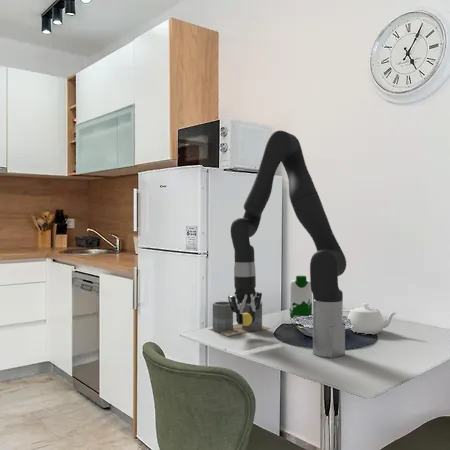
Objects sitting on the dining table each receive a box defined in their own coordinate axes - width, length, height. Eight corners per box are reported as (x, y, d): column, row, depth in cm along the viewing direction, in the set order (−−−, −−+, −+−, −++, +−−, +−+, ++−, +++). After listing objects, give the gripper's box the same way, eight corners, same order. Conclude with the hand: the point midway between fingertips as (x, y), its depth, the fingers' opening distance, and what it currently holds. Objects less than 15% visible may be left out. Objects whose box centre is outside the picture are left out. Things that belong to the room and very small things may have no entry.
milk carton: (289, 328, 184) (290, 276, 184) (289, 322, 193) (289, 273, 193) (312, 328, 183) (313, 277, 183) (310, 323, 192) (311, 274, 192)
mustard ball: (255, 325, 166) (254, 312, 166) (244, 327, 163) (244, 314, 163) (246, 323, 170) (246, 310, 170) (236, 325, 167) (236, 312, 167)
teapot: (333, 332, 178) (333, 303, 178) (343, 325, 190) (343, 298, 189) (393, 340, 167) (394, 309, 166) (401, 332, 178) (401, 303, 178)
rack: (271, 331, 179) (271, 302, 178) (228, 340, 167) (228, 308, 167) (249, 325, 189) (249, 297, 189) (208, 332, 177) (208, 302, 177)
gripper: (235, 277, 159) (236, 327, 159) (267, 273, 168) (268, 321, 168) (222, 275, 165) (223, 324, 165) (253, 272, 174) (254, 318, 174)
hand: (245, 322), depth 167 cm, fingers closed on mustard ball, 4 cm apart
